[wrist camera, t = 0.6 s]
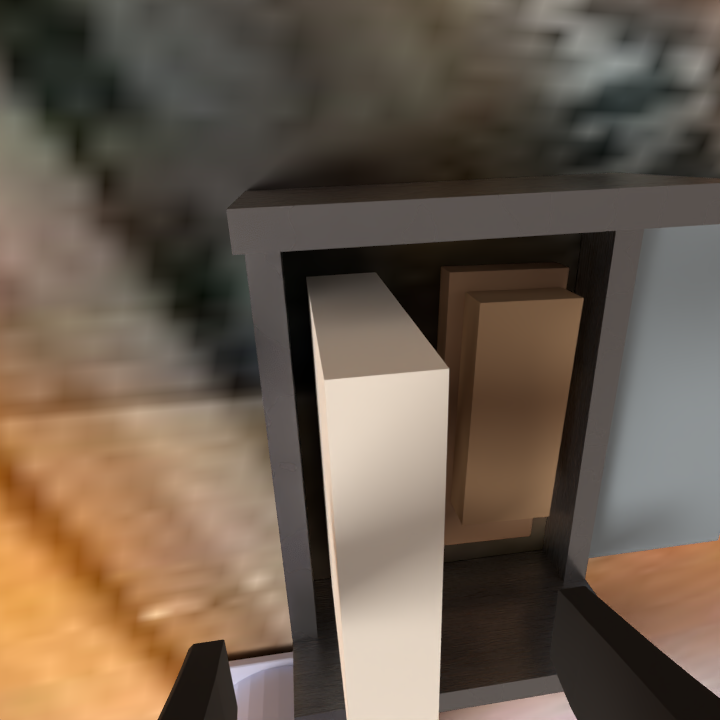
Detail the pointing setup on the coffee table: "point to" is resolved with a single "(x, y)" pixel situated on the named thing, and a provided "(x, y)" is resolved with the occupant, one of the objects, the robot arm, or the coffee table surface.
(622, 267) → the rack
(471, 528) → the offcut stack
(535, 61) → the coffee table surface
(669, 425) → the mat
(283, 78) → the coffee table surface
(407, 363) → the cream rectangular slab
